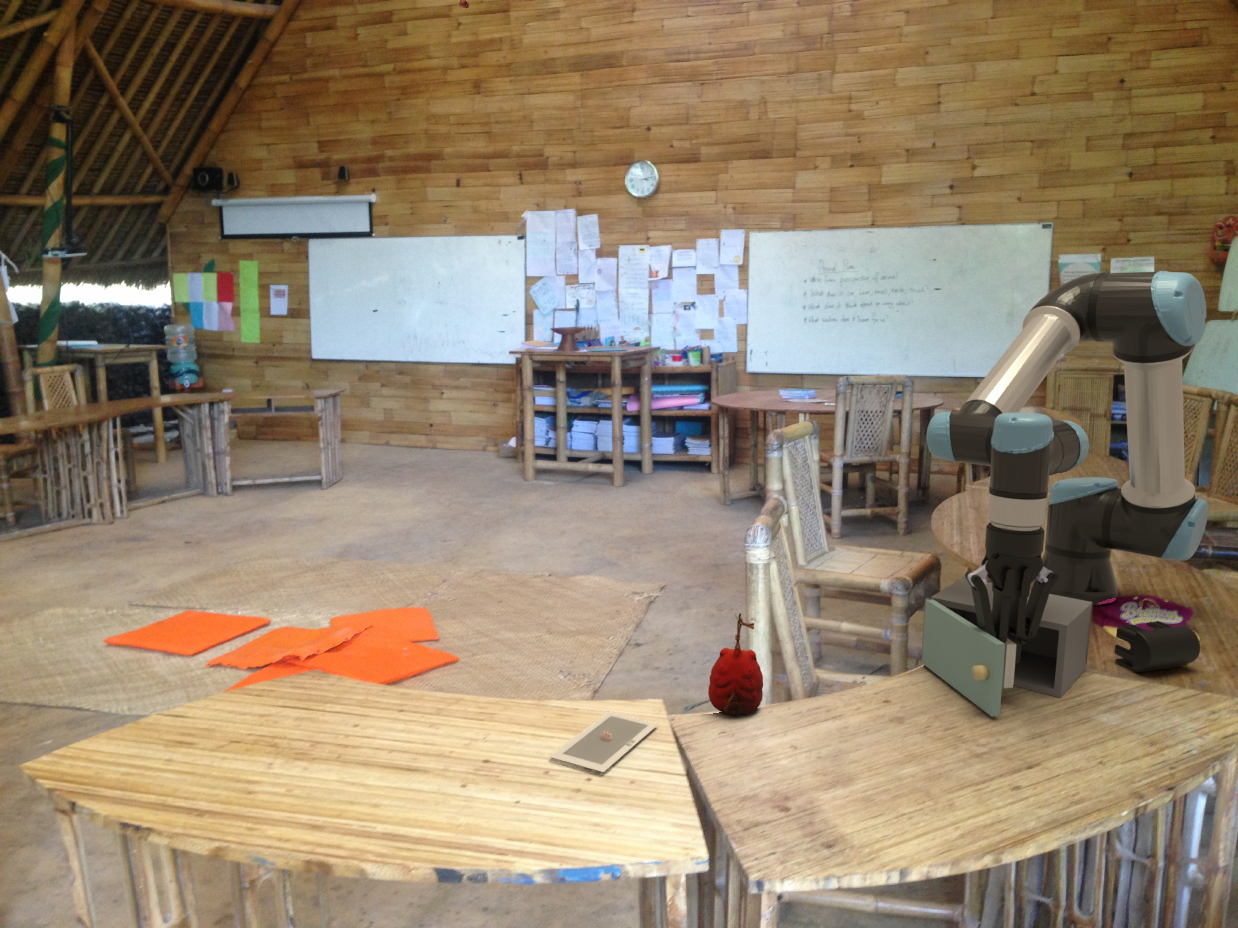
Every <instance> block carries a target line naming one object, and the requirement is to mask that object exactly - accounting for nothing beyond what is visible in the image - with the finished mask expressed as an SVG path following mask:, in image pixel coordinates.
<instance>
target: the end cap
mask: <svg viewBox="0 0 1238 928" xmlns="http://www.w3.org/2000/svg"><path fill="white" fill-rule="evenodd" d="M1146 626H1147V627H1150V628H1151V629H1146V628H1143V627H1140V626H1138V625H1134V624H1131V623H1130V624H1126V625H1125V624H1124V625H1119V626H1118V627H1117V628H1116V633H1115V638H1117V639H1120V640H1122V641H1125V642H1127V643H1129V647H1130V648H1126V647H1124V646H1122V645H1120V644H1115V645H1114V654H1115V655H1116V656H1118V657H1119V658H1115V660H1114V662H1115V664H1116V665H1118V666H1120V667H1123V668H1125V669H1127V670H1129V671H1131V672H1134V673H1145V672H1152V671H1158V670H1166V669H1172V668H1179V667H1184V666H1186V665H1188V664H1191V663H1193V662H1195V661H1196V660H1197V659H1198V657H1199V655H1200V652H1201V644H1200V640H1199V638H1198V635H1197V634H1196V632H1195V631H1194V630H1193V629H1192V628H1191V627H1189V626H1187V625H1185V624H1184V625H1175V626H1172V625H1170V624H1168V623H1164V622H1163V621H1159V620H1156V621H1149V622H1146Z"/></svg>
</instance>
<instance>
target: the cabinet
mask: <svg viewBox="0 0 1238 928" xmlns="http://www.w3.org/2000/svg"><path fill="white" fill-rule="evenodd" d="M985 586H986V588H987V591H988V596H989V601H990V607H991V613H992V607H993V591H992V582H988V581H987V584H985ZM1031 590H1032V589H1030V593H1031ZM1029 596H1030V594H1029ZM930 598H931V599H933V600H935V601H937V602H938V603H940V604H941V605H943V606H945V607H946V608H948V609H949V610H951V611H953V612H954V613H956V614H958V615H959V616H961V617H962V618H964V619H966V620H967V621H969V622H970V623H972V624H974V625H975V626H977V627H978V622H977V617H976V611H975V605H974V600H973V594H972V589H971V586H970V584H969V582H968V581H967V579H966V578H965V576H964V577H962V578H960V579H958V580H957V581H955V582H953V583H952V584H950V585H948V586H946V587H945V588H943V589H942V590H940V591H938V592H937V593H935V594H933V595H932V596H930ZM1028 599H1029V597H1027V603H1028ZM1092 611H1093V605H1092V602H1089V601H1084V600H1079V599H1074V598H1069V597H1063V596H1058V595H1053V594H1049V597H1048V600H1047V603H1046V606H1045V609H1044V612H1043V615H1042V618H1041V621H1040V625H1039V628H1038V631H1037V634H1036V636H1035V637H1034V638H1027V639H1025V640H1026V641H1027V642H1026V644H1024V645H1022V646H1021V658H1020V662H1019V663H1015V670H1014V683H1013V685H1014V686H1013V687H1017V688H1020V687H1021V689H1024V690H1029V691H1032V692H1036V693H1037V692H1038V693H1040V694H1045V695H1049V696H1053V697H1056V698H1060V699H1061V698H1062V697H1063V696H1064V695H1065V694H1066V693H1067V691H1068V690H1069V689H1071V687H1072V686H1073V685H1074V684H1075V682H1077V680H1078V679H1079V678H1080V676H1081V675H1082V674H1083V673H1084V672H1085V671H1086V670H1087V663H1088V653H1089V643H1090V634H1091V633H1090V632H1091V631H1090V629H1091V624H1092V623H1091V621H1092ZM1007 638H1008V639H1009V636H1008V635H1007Z"/></svg>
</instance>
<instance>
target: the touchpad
mask: <svg viewBox="0 0 1238 928" xmlns="http://www.w3.org/2000/svg"><path fill="white" fill-rule="evenodd" d="M658 725H659V723H658V722H654V721H649V720H645V719H641V718H637V717H633V716H629V715H625V714H622V713H621V714H620V713H618V712H617V713H616V712H614V711H610V710H609V711H606V712H605V713H604V714H602V716H600V717H599V718H597V719H596V720H595V721H594V722H592V723H590V725H588V726H587V727H586V728H585V729H583V730H582V731H580V732H579V733H578V734H576V735H575V736H574V737H572V738H571V739H570V740H568V741H567V742H566V743H565V744H563V745H562V746H560V747H559V748H558V749H557V750H555V751H554V752H553V753H551V754H550V755H549V756H548V757H549V758H553V759H556V760H559V761H563V762H567V763H570V764H573V765H577V766H580V767H583V768H587V769H591V770H594V771H597V772H601V773H605V772H606V771H607V770H608V769H609V768H610V767H612V766H613V765H614V764H615V763H616V762H617V761H619V759H621V758H622V757H623V756H624V755H625V754H626V753H627V752H629V751H630V750H631V749H632V748H633V747H634V746H636V745H637V743H639V742H640V741H641V740H642V739H644V738H645V737H646V736H647V735H648V734H649V733H651V732H652V731H653V730H654V729H656V727H657V726H658Z"/></svg>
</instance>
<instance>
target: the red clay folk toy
mask: <svg viewBox="0 0 1238 928" xmlns="http://www.w3.org/2000/svg"><path fill="white" fill-rule="evenodd" d="M734 616H735V618H736V621H737V623H736V624H737V625H736V632H737V633H736V634H735V635H734V639H735V640H736V643H735V644H734V648H729V647H723V648H722V649H721V650H720V651H719V657H718V658H717V659H716V661H715V663H714V664H713V666H712V667H711V670H710V675H709V685H708V691H707V692H708V699H709V702H710V703H711V705H712V706H713V707H714V709H716V710H717V711H718V712H721V713H723V714H726V715H730V716H745V715H748V714H751V713H753V712H755V711H757V710H758V709H759V707H760V705H761V703H762V701H763V695H764V694H763V688H764V676H763V675H764V674H763V672H762V670H761V666H760V664H759V663H758V660H757V654H756V652H755V651H754V650H752V649H748V650H746V649H742V648H741V644H740V639H741V629H742V626H744V627H747V628H749V629H751V630H755V622H750V623H748V622H744V621H743V618H742V613H739V614H738V615H737V614H734ZM737 616H738V617H737Z"/></svg>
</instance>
